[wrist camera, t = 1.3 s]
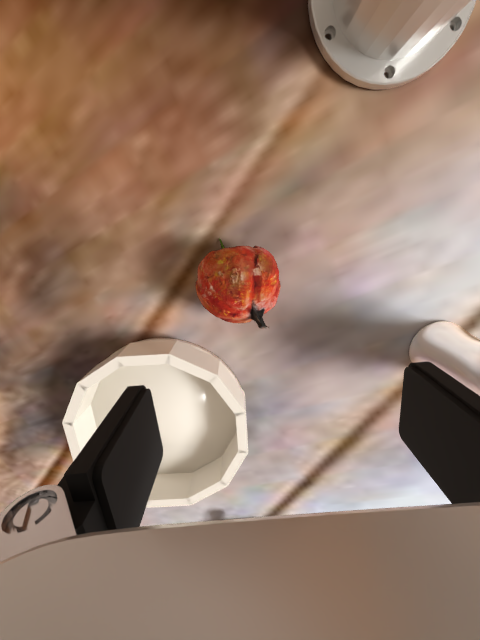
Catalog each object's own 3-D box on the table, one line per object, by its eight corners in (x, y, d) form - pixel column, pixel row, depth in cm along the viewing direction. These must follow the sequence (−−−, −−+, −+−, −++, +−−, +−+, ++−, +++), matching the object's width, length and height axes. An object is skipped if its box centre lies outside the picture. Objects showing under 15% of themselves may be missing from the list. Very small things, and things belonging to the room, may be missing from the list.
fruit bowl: (72, 342, 30) (44, 361, 26) (241, 332, 30) (241, 349, 25) (105, 477, 35) (87, 510, 31) (249, 469, 35) (251, 502, 31)
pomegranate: (193, 269, 30) (219, 356, 26) (172, 223, 23) (202, 331, 20) (259, 248, 30) (294, 331, 27) (257, 196, 23) (303, 298, 20)
